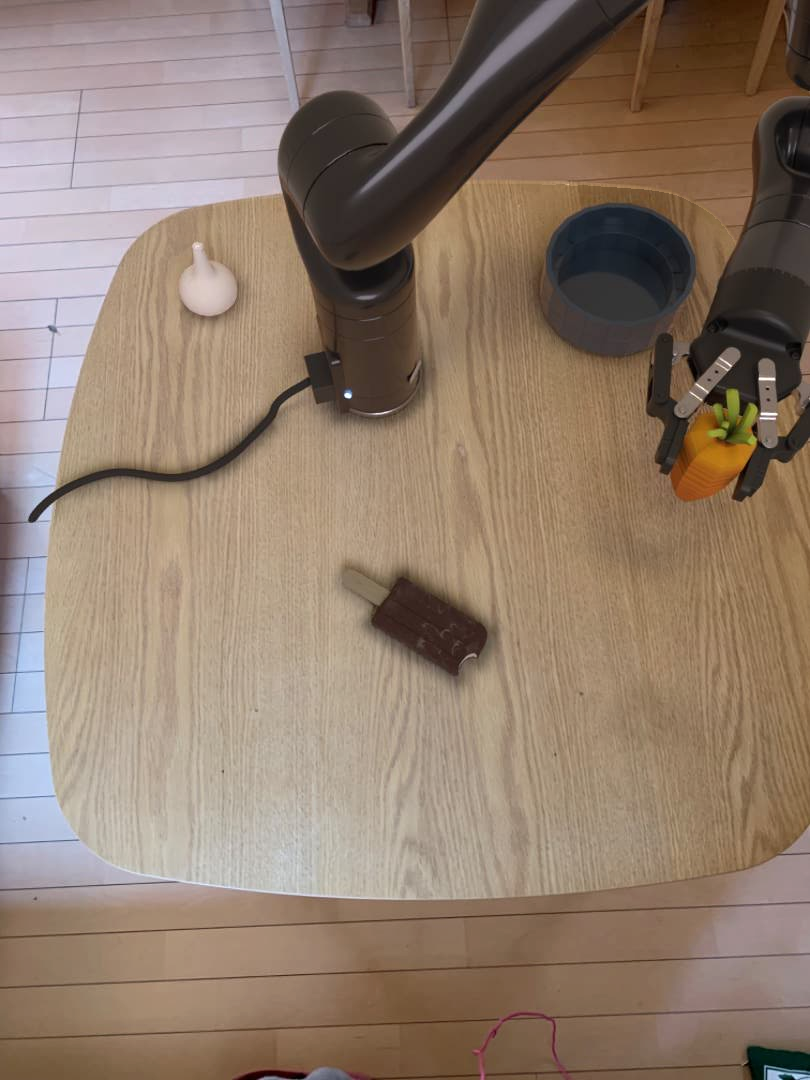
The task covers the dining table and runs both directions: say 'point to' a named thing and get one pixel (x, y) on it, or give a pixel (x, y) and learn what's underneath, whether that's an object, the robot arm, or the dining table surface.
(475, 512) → the dining table surface
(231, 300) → the garlic bulb
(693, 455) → the carrot
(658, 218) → the bowl
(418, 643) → the ice cream bar
